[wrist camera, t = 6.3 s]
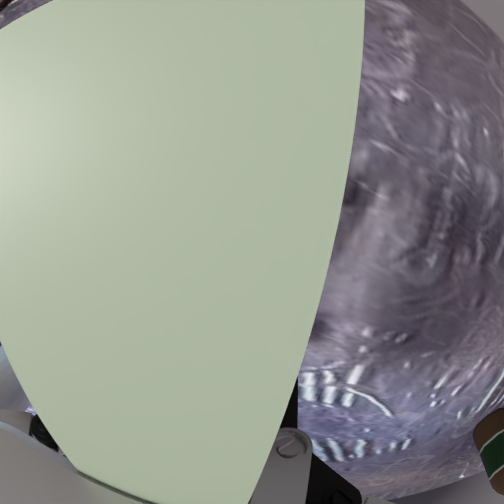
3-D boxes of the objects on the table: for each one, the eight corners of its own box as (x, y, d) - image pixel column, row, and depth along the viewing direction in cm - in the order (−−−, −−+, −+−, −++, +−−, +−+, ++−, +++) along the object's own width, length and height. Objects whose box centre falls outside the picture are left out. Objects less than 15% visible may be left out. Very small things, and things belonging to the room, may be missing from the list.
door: (257, 443, 16) (238, 564, 7) (197, 431, 16) (159, 547, 7) (327, 126, 9) (512, 44, 1) (214, 111, 9) (-19, 41, 1)
